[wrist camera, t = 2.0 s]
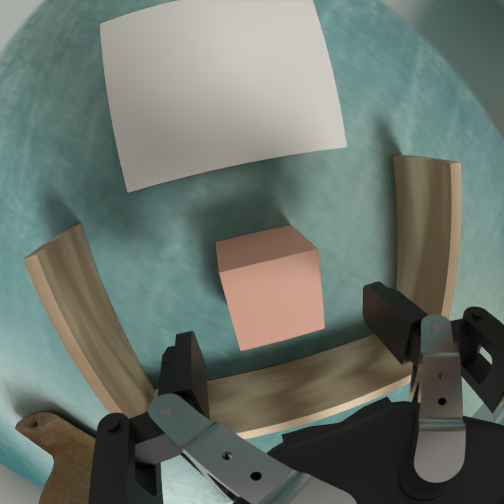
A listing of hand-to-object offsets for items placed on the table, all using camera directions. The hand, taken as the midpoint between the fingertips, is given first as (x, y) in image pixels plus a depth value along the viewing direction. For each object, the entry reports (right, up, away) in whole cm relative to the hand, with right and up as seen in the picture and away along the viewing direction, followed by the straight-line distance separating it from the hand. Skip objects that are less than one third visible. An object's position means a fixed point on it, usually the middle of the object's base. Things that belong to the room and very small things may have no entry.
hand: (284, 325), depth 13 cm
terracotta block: (-1, +2, +7) cm, 7 cm away
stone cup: (-21, -19, +11) cm, 30 cm away
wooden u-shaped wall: (0, 0, +8) cm, 8 cm away
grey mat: (-3, +14, +2) cm, 15 cm away
